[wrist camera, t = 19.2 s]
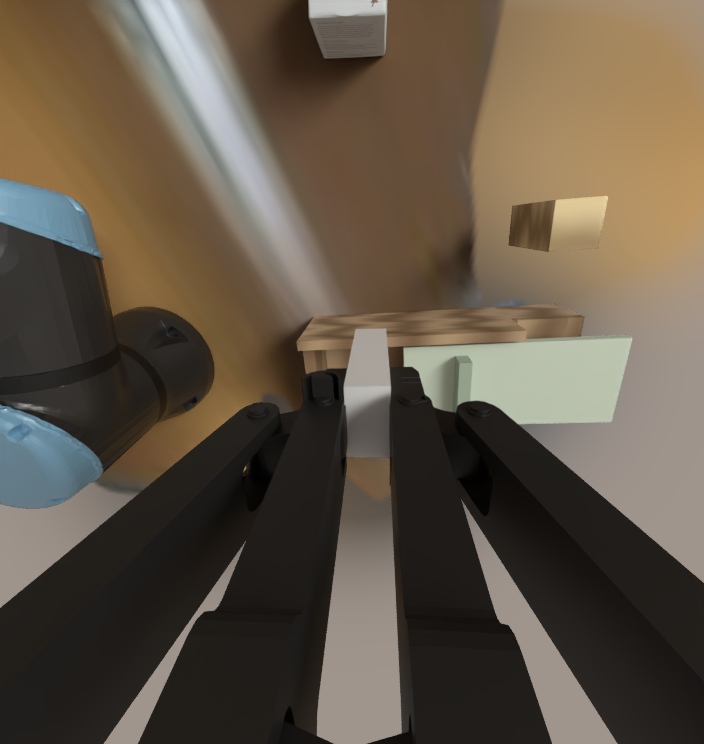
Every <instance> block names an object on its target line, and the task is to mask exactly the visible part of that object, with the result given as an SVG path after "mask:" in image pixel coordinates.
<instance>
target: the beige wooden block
mask: <svg viewBox="0 0 704 744" xmlns="http://www.w3.org/2000/svg"><path fill="white" fill-rule="evenodd" d="M607 201H608V196H599V197H586V198H574V199H562V200H552V201H545V202H537V203H530V204H522V205H515V206H512V215H511V227H510V236H509V245H510V246H516V247H522V248H529V249H534V250H540V251H546V252H554V251H570V250H584V249H598V247H599V242H600V236H601V232H602V226H603V221H604V216H605V211H606V206H607Z"/></svg>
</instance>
